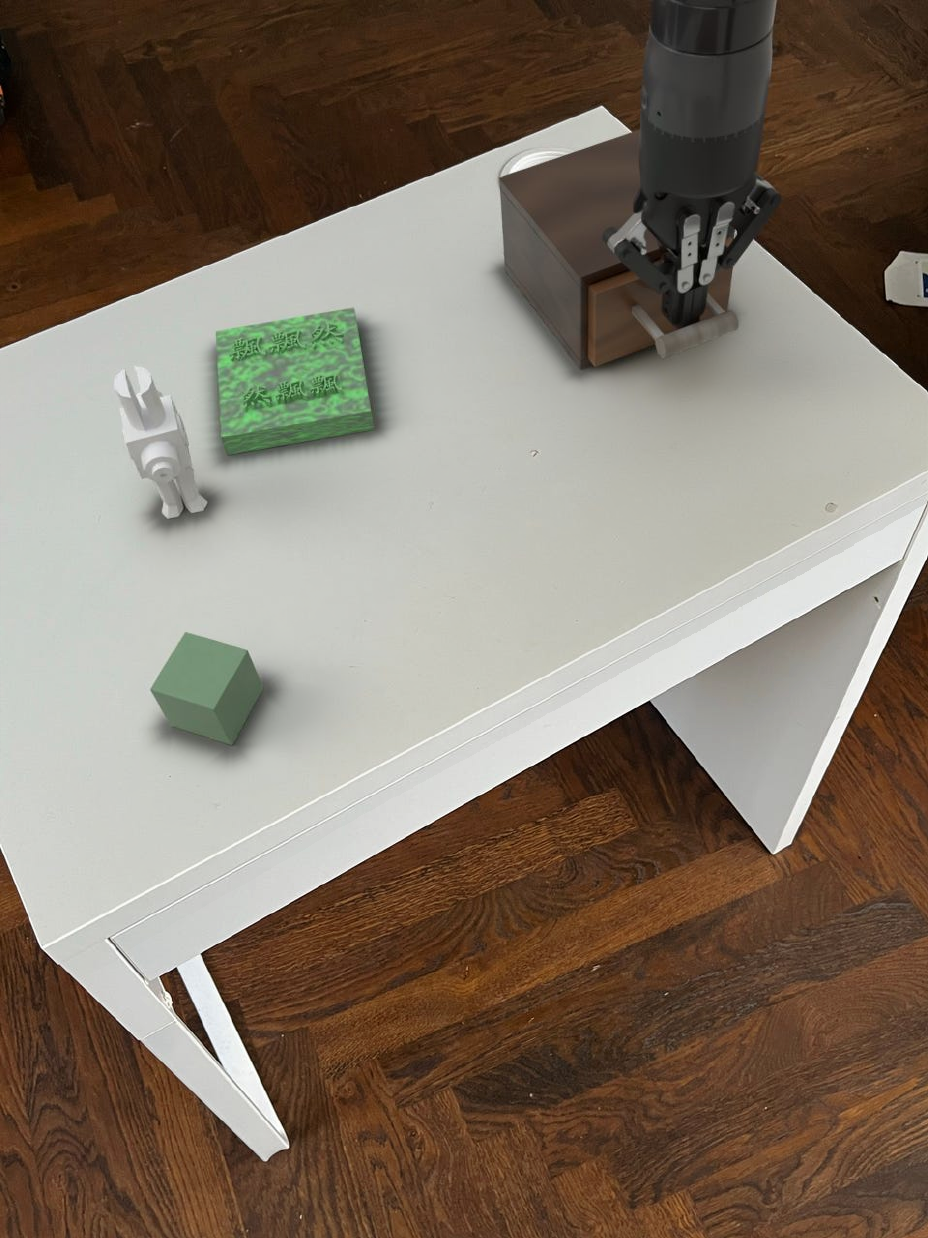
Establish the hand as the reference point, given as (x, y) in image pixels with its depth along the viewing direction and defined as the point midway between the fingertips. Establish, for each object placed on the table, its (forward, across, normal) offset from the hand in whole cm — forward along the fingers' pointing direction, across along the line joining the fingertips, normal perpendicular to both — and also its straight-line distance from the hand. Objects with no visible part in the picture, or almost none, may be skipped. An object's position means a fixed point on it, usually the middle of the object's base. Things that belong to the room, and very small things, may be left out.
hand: (682, 320), depth 84 cm
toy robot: (+5, -38, +6) cm, 39 cm away
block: (+5, -41, -12) cm, 43 cm away
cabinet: (+5, 0, +11) cm, 12 cm away
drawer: (+4, 0, +6) cm, 8 cm away
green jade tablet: (+5, -27, +13) cm, 30 cm away
